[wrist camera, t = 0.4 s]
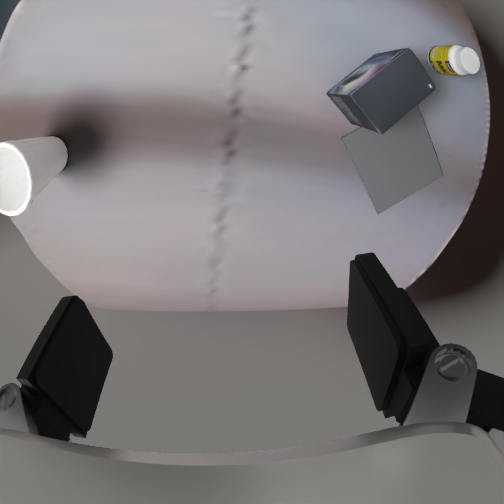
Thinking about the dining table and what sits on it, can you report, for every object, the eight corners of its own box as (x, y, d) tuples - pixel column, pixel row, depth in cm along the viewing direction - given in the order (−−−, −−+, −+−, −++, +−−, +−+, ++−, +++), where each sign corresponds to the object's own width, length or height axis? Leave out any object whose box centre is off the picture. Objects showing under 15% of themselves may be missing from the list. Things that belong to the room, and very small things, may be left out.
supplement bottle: (422, 62, 34) (454, 62, 27) (431, 40, 32) (463, 37, 25) (443, 79, 35) (476, 83, 28) (452, 57, 33) (485, 58, 26)
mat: (340, 138, 40) (341, 138, 40) (413, 99, 37) (414, 99, 37) (377, 213, 47) (378, 214, 46) (441, 174, 43) (442, 175, 43)
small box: (374, 50, 34) (410, 44, 25) (400, 85, 36) (439, 88, 27) (323, 91, 37) (348, 93, 28) (352, 125, 40) (383, 138, 30)
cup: (31, 181, 41) (-15, 212, 29) (32, 123, 36) (-21, 142, 24) (77, 186, 42) (34, 221, 31) (80, 125, 37) (31, 142, 26)
